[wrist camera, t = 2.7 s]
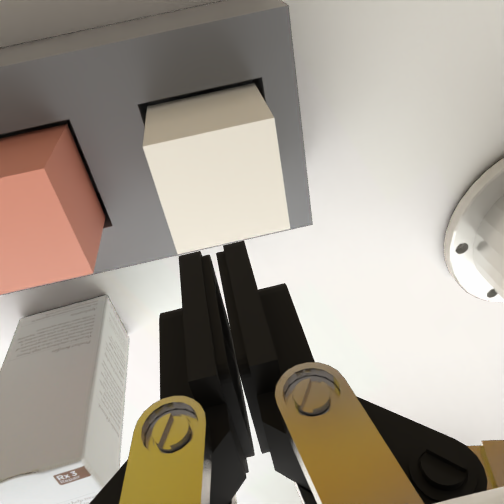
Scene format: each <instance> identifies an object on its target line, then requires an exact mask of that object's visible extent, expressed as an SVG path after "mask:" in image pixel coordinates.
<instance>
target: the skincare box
mask: <svg viewBox="0 0 504 504" xmlns="http://www.w3.org/2000/svg"><path fill="white" fill-rule="evenodd" d="M128 351H129V336H128V334H127V332H126V330H125V328H124V326H123V324H122V322H121V320H120V318H119V316H118V314H117V312H116V310H115V309H114V307H113V305H112V303H111V301H110V299H109V297H108V296H106V295H104V296H100V297H97V298H93V299H90V300H86V301H83V302H79V303H75V304H72V305H68V306H65V307H61V308H57V309H54V310H50V311H46V312H43V313H39V314H35V315H32V316H28V317H25V318H21V319H20V320H19V323H18V325H17V328H16V331H15V333H14V336H13V339H12V341H11V344H10V347H9V349H8V352H7V354H6V357H5V360H4V362H3V365H2V368H1V370H0V504H89V503H90V502H91V501H92V500H93V499H94V498H95V496H96V495H97V494H98V493H99V492H100V491H101V490H102V488H103V487H104V486H105V485H106V484H107V483H108V482H109V480H110V479H111V478H112V477H113V476H114V475H115V474H116V472H117V471H118V470H119V468H120V452H121V440H122V427H123V415H124V402H125V390H126V377H127V364H128Z"/></svg>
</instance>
